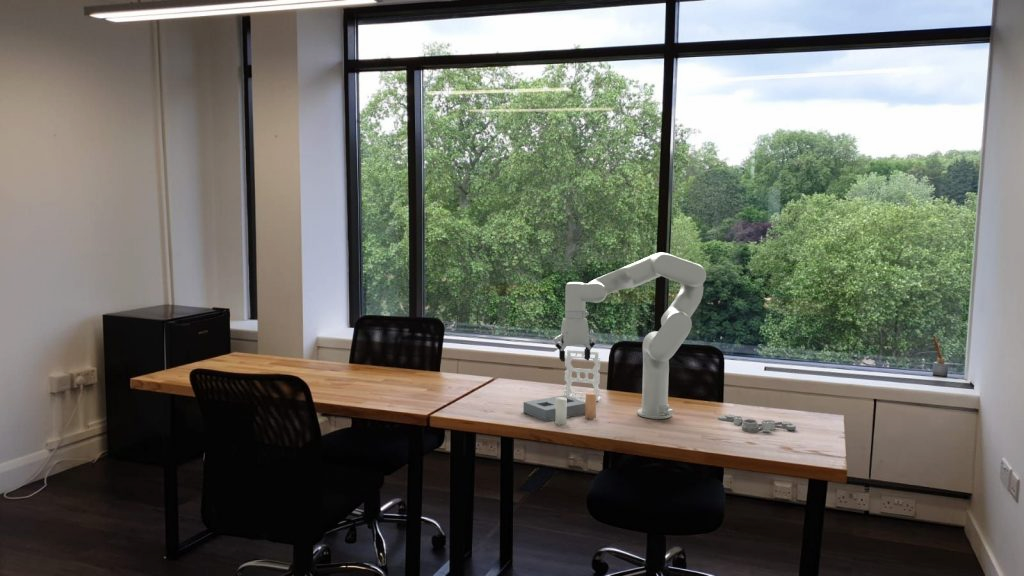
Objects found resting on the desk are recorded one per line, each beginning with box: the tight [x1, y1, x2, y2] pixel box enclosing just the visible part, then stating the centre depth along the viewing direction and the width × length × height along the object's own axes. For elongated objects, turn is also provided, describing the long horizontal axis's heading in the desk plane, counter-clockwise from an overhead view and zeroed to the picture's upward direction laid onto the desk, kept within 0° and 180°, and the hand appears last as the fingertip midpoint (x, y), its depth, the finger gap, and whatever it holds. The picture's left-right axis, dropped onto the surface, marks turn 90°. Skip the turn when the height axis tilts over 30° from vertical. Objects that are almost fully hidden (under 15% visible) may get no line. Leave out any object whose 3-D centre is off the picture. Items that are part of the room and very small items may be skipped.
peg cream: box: [554, 396, 568, 426], centre depth 256 cm, size 4×4×9 cm
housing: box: [522, 394, 585, 422], centre depth 270 cm, size 14×20×4 cm
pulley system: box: [717, 414, 797, 433], centre depth 255 cm, size 27×5×15 cm
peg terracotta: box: [584, 391, 597, 420], centre depth 264 cm, size 4×4×9 cm
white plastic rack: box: [563, 349, 602, 402], centre depth 289 cm, size 14×14×20 cm
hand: (574, 360), depth 268 cm, fingers open, 9 cm apart
